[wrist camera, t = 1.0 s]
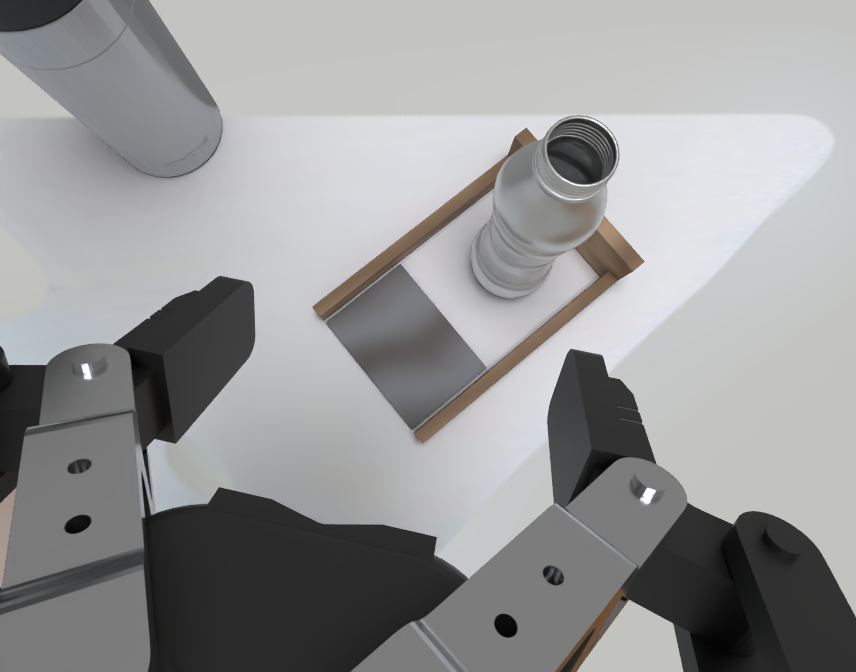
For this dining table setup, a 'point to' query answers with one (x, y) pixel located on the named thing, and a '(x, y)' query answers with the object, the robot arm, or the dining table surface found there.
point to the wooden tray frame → (429, 330)
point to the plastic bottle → (544, 205)
